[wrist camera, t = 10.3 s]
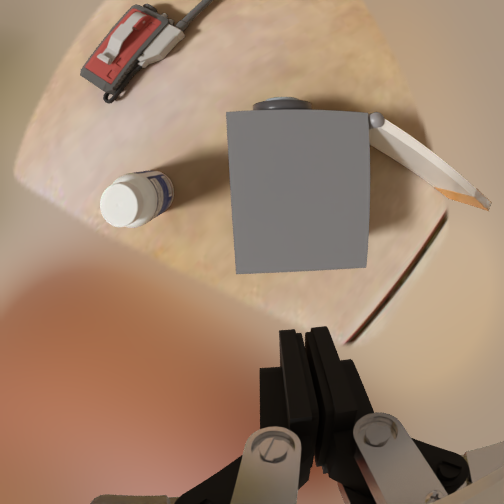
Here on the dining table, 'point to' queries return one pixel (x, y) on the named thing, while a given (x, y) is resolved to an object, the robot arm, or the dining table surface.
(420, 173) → the side door
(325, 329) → the robot arm
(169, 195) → the pill bottle
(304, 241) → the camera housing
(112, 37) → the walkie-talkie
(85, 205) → the dining table surface
